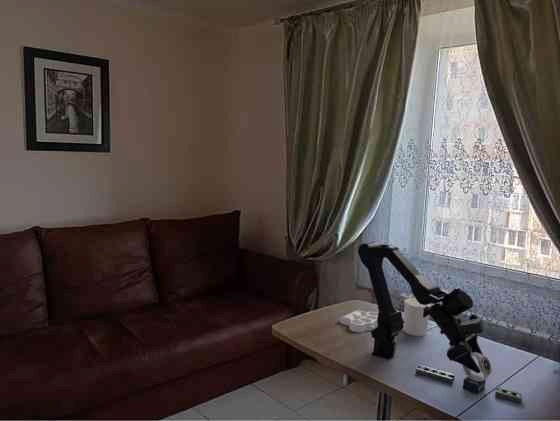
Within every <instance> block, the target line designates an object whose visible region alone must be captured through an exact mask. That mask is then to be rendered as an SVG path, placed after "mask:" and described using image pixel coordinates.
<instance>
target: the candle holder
mask: <svg viewBox="0 0 560 421" xmlns="http://www.w3.org/2000/svg"><path fill="white" fill-rule="evenodd" d="M426 306H428V307H431V306H432V304H428V305H422V304H420V303H419V302H418V301H417V300H416V298H415V297H410V298H409V297H408V298H406V299H405V300H404V311H403V312H404V315H403V316H404V319H403V321H404V323H403V326H404V327H403V331H404V332H405V333H406V334H407V335H410V336H413V337H423V336H426V334H427V331H428V325H429V319H430V315H428V316H426V317H423V312H424V310H423V309H424V308H425V307H426Z"/></svg>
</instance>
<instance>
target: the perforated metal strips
mask: <svg viewBox="0 0 560 421" xmlns="http://www.w3.org/2000/svg"><path fill="white" fill-rule="evenodd" d="M415 375H418V376H422V377H425V378H429V379H431V380H435V381H439V382H442V383H446V384H447V385H448V384H449V385H453V381H454V380H455V374H453V373H450V372H447V371H443V370H440V369H435V368H432V367H428V366H424V365H421V364H418V365H417V367H416V368H415ZM494 397H495V398H496V399H500V400H503V401H507V402H511V403H514V404H516V405H521V404H522V401H523V393H521V392H517V391H513V390H510V389H507V388H504V387H499V386H496V390H495V395H494Z"/></svg>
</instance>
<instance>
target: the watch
mask: <svg viewBox="0 0 560 421" xmlns="http://www.w3.org/2000/svg"><path fill="white" fill-rule="evenodd" d="M471 355H472V357H473V356H474V357H475V358H476V359H477V361H478V367H479V369H480V371H481V373H482V374H483V377H482V376H479V375H477V374H475V373H472V370H471V369H469V368H467V367H465V366H464V365H462V369H463V371H464V374H465V376H466V377H465V378H463V384H462V390H465V391H467V392H468V393H470V394H474V395H476V396H478V395H479V394H480V393H481V392H483V391H484V390H485V389H486V382H487V381H486V380H487V379H488V378H489V376H490V375H491V373H492V364H491V361H490V359H489V358H488V357H486V356H485V355H484V354H483V355H482V354H480V353H477V352H472V353H471Z"/></svg>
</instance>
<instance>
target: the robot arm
mask: <svg viewBox="0 0 560 421" xmlns="http://www.w3.org/2000/svg"><path fill="white" fill-rule="evenodd" d="M357 254H358V256H359V259H360V262H361V263H362V265H363V266H364V267H365V268H366V269H367V271H368V274H369V279H370V282H371V286H372V290H373V294H374V297H375V302H376V304H377V308H378V312H377V313H378V318H377V323H378V327H376V328H374V329H373V330H370V334H371V338H373V339H374V342H373V343H374V344H373V351H372V352H371V355H374V356H376V357H380V358H384V359H387V360H391V359H392V357H394V356H395V354H396V352H397V350H396V349H397V342H396V337H398V336H399V334H400V333H401V332H402V331H404V319H403V314H402V312H401V310H399V311H397V310H396V309H395V308H394V305H393V301H392V298H391V295H390V290H389V287H388V284H387V280H386V277H385V276H386V275H385V273H384V269H383V262H384V259H385V258H386V259H387V260H388V262H389V263H390V264H391V265H392V266H393V267H394V268H395V270H396V271H397V272H398V273H399V274H400V276H402V277H403V279H404V280H405V281H406V282H407V284H408V285H409V286H410V290H411V293H412V295H413V296H414V298H416V300H417V301H418V302H419V303H420V304H422V305H428V304H431V307H428V306H426V307H425V308H424V309H423V310H424V312H423V317H426V316H428V315H429V317H430V318H431V319H432V321H434V323H435V324H436V326H438V328H439V330H440V331H439V333H440V335H444V336H445V337H446V338H447V339H448V341H449V343H448V345H449V347H448V349H447V351H446V357H447V358H448V359H449V360H450V362H454V363H458V364H460V365H462V366H463V365H464V366H465V367H467V368H469V369H470V370H471V371H472V372H474V373H476V374H480V373H482V371H481V370H480V368H479V364H477V362H476V360H475V358H473V355H471V353H472V352H477V353H480V354H482V355H483V356H484V354H483V352H482V349H481V347H480V345H479V343H478V338H479V337H478V336H479V334H482V333H484V329H485V327H484V324H483V322H484V321H483V319H482V318H481V317H480V316H478V315H477V314H476V313H473V314H470V315H469V318H468V319H466V320H464V321H462V319H461V318H459V317H458V316H460V315H461V314H463V313H465V312H467V311H468V310H470V309H472V308H473V307H474V302H473V299H472V297H471V296H470V295H469V294H467V292H466V291H464V290H462V289H461V288H460V287H455V288H454V289H452V291H450V292H447V291H445V290H443V289H441V288H440V286H438V285H437V284H436V283H435V282H433V281H432V280H431V279H429V278H427V277H425V276H423V275H422V274H421V273H420V272H419V270H417V268H416V267H415V266H414V265H413V264H412V262H411V261H410V260H408V258H407V257H406V256H405V255H404V254H403V253H402V251H400V248H399V247H398V246H397V245H395V244H381V243H379V242H378V241H371V242H370V241H369V242H364V243H361V244H360V245H359V247H358V248H357ZM432 304H433V305H432ZM456 317H457V318H456Z"/></svg>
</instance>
